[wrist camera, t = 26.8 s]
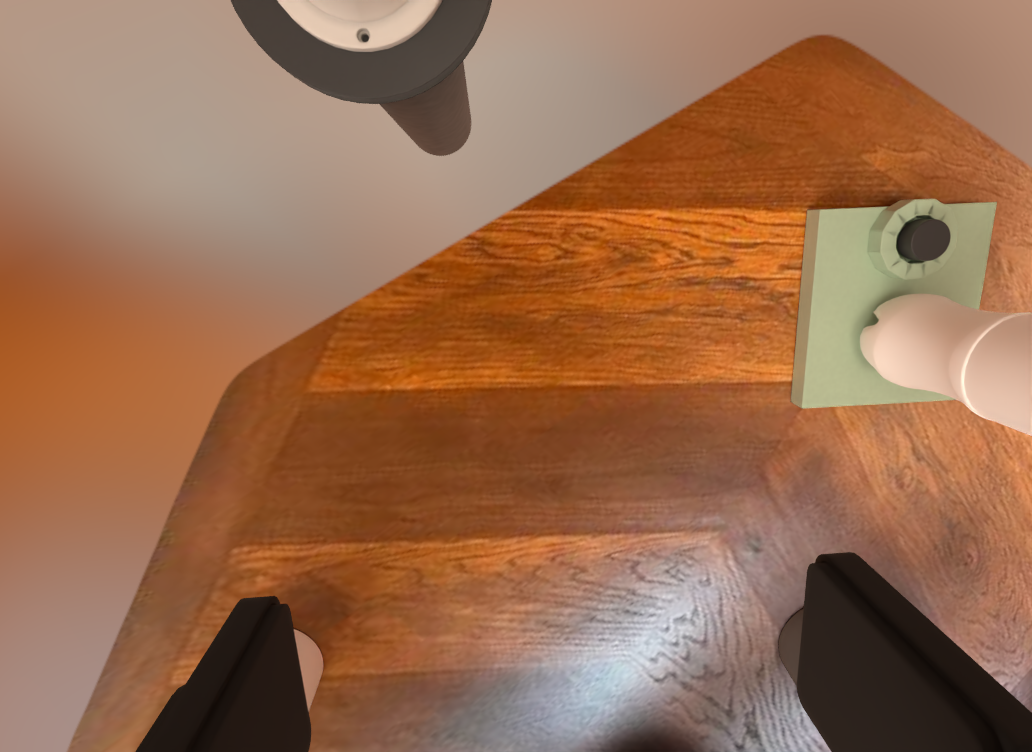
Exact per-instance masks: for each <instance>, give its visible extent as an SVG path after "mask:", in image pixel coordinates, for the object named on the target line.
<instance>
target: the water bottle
mask: <svg viewBox="0 0 1032 752" xmlns="http://www.w3.org/2000/svg"><path fill="white" fill-rule="evenodd" d="M874 314H875V315H876V317H877V318H878V319H879V321H878V323H877V324H875V325H872V326H867V327H865V328H864V329H863V330H862V333H861V335H860V348H861V351H862V353H863V355H864V357H865V358H866V360H867V361H868V362H869V363H870V364H871V365H872V366H873V367H874V368H875V369H876V371H877V372H878V373H879V374H880V375H881V376H882V377H883V378H884V379H886V380H888V381H890V382H892V383H894V384H897V385H900V386H903V387H906V388H912V389H921V390H927V391H932V392H936V393H940V394H943V395H946V396H949V397H951V398H954V399H956V400H958V401H960V402H962V403H964V404H965V405H966V406H967V407H968V408H969V409H970V410H971V411H972V412H974V413H975V414H977V415H979V416H981V417H983V418H985V419H988V420H991V421H995V422H998V423H1000V424H1003V425H1005V426H1008V427H1010V428H1013V429H1015V430H1018V431H1020V432H1023V433H1025V434H1028V435H1030V436H1032V313H1029V312H1027V313H1003V312H992V311H985V310H979V309H974V308H970V307H966V306H963V305H960V304H958V303H956V302H954V301H951V300H950V299H948V298H946V297H944V296H940V295H934V294H908V295H903V296H899V297H896V298H893V299H891V300H889V301H886V302H885V303H883V304H881V305H880V306H878V307H877V309H876V310H875V311H874Z"/></svg>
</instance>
